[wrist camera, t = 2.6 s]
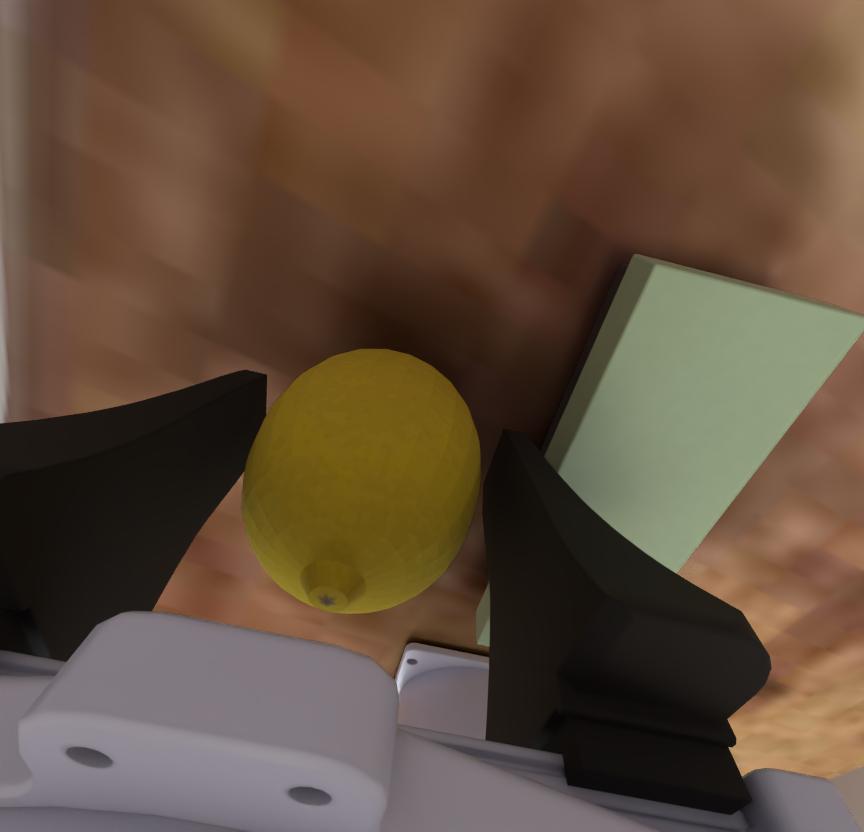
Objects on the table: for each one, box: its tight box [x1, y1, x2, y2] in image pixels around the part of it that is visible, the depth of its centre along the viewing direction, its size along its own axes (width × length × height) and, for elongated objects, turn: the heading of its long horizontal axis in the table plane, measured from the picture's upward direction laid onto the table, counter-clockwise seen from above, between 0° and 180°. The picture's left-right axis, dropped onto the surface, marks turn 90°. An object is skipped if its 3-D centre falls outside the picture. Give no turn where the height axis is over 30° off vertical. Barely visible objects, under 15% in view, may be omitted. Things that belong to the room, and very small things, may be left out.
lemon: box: [241, 349, 481, 614], centre depth 11 cm, size 6×6×8 cm
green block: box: [476, 254, 864, 647], centre depth 14 cm, size 14×5×3 cm, turn 167°
